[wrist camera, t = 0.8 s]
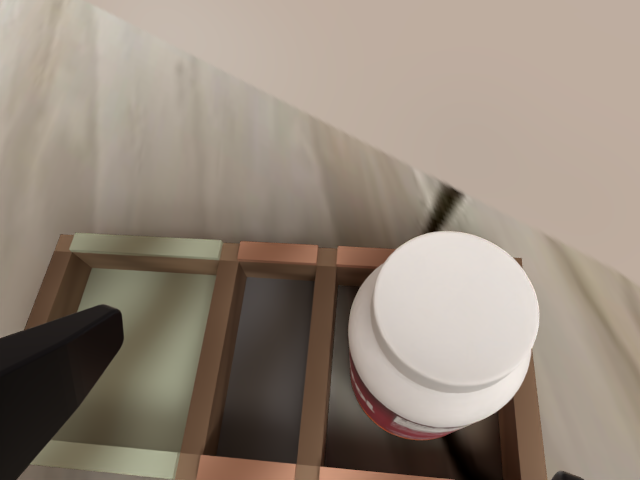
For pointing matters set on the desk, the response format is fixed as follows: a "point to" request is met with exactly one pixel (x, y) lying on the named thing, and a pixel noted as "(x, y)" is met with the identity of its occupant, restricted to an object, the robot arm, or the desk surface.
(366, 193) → the desk surface
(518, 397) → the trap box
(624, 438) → the desk surface
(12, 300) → the desk surface
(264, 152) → the desk surface
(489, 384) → the pill bottle
